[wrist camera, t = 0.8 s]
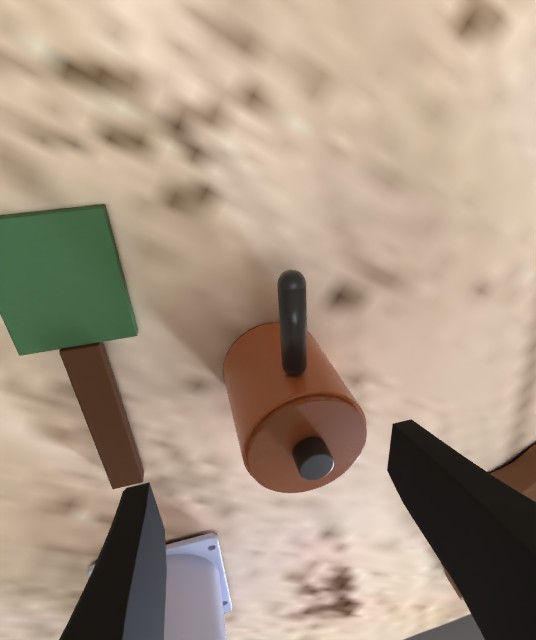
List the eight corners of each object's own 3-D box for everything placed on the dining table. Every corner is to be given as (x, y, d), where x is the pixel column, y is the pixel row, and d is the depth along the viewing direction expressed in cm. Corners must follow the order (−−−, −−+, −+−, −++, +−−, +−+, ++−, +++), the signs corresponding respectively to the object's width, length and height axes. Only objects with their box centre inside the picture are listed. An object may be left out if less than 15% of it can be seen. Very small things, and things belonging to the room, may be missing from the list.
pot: (319, 394, 22) (376, 496, 16) (228, 413, 21) (254, 528, 15) (319, 229, 17) (400, 288, 12) (204, 244, 16) (227, 317, 11)
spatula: (172, 463, 22) (173, 475, 21) (83, 484, 21) (80, 497, 20) (105, 204, 15) (102, 208, 14) (-34, 219, 14) (-44, 224, 13)
